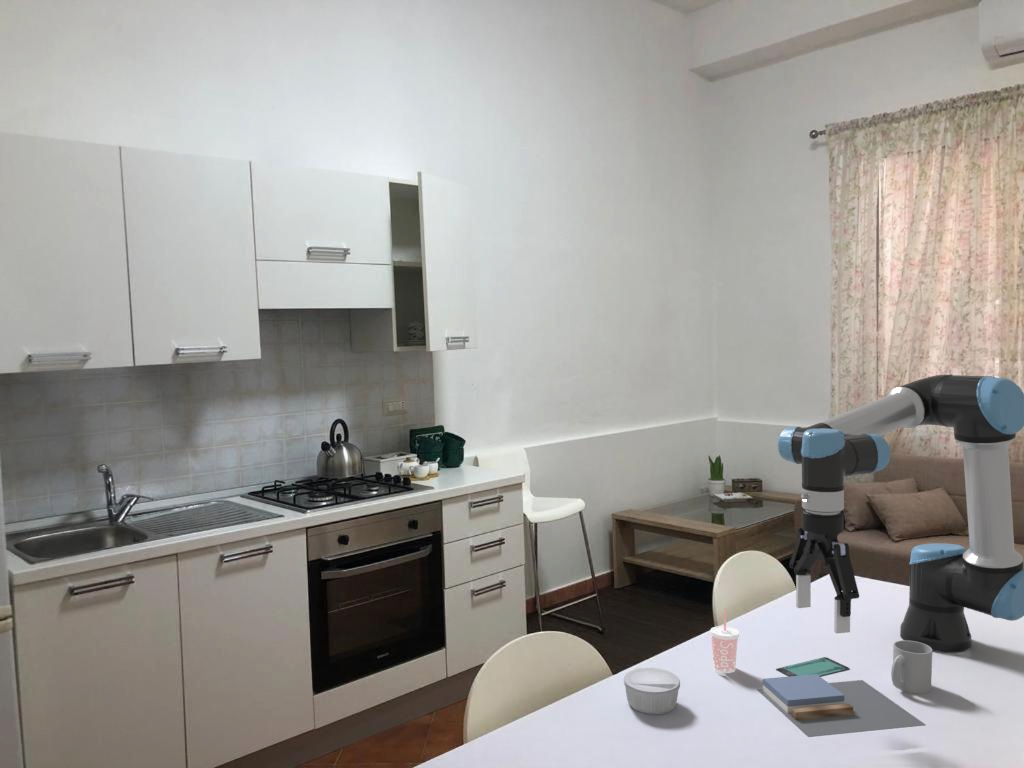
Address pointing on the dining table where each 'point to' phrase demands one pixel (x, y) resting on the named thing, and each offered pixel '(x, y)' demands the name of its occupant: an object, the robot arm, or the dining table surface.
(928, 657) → the cup
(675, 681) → the ramekin
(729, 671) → the beverage cup
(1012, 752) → the dining table surface
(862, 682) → the mat
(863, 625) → the dining table surface
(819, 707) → the strip
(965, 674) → the dining table surface
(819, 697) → the blue-grey flat block
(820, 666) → the smartphone
